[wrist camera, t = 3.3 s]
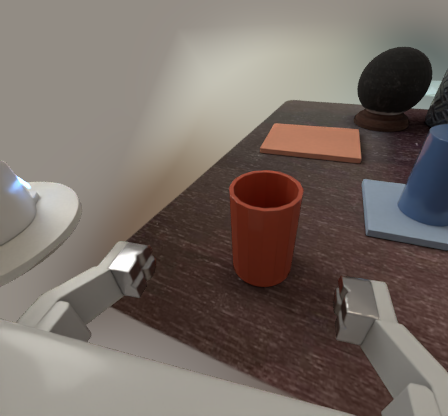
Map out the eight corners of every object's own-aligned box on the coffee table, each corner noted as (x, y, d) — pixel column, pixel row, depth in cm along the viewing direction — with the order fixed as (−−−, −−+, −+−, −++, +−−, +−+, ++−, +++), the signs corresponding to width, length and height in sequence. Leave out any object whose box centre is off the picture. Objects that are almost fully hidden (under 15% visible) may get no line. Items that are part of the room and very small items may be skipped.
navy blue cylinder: (401, 220, 31) (438, 144, 25) (394, 192, 36) (424, 122, 30) (464, 231, 30) (521, 151, 23) (448, 199, 34) (492, 126, 28)
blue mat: (366, 235, 31) (368, 229, 31) (361, 184, 40) (363, 178, 39) (513, 263, 27) (519, 256, 26) (472, 198, 36) (476, 192, 35)
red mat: (259, 152, 51) (260, 148, 50) (274, 127, 61) (274, 123, 60) (359, 163, 45) (361, 158, 44) (357, 133, 55) (358, 129, 55)
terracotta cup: (225, 277, 27) (218, 203, 21) (242, 237, 32) (241, 166, 26) (285, 294, 25) (297, 217, 19) (294, 249, 30) (307, 175, 24)
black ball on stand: (344, 113, 66) (359, 44, 57) (400, 113, 64) (426, 41, 54) (356, 133, 56) (378, 53, 46) (424, 133, 53) (460, 49, 44)
